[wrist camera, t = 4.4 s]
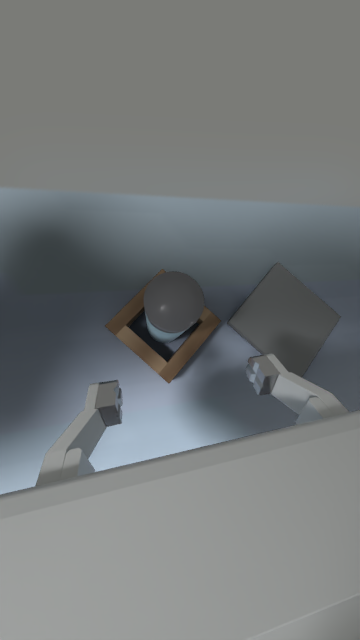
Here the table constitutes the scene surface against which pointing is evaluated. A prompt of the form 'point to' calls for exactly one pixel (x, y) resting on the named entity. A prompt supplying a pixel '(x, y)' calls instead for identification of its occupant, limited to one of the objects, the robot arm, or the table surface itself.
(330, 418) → the robot arm
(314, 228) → the table surface
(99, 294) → the table surface
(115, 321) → the walnut dock
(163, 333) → the cylinder
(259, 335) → the grey mat
